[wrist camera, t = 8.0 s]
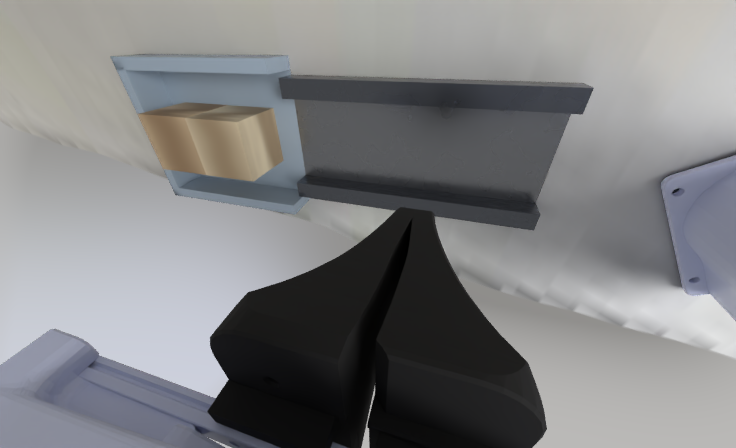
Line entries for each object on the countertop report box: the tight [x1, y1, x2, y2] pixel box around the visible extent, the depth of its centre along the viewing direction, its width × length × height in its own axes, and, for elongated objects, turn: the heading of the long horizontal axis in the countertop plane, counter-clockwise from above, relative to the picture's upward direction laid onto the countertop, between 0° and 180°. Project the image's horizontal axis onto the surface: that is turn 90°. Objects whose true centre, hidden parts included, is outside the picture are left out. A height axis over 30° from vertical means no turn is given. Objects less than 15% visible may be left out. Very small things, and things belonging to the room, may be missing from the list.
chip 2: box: [185, 105, 284, 182], centre depth 20 cm, size 4×4×4 cm
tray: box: [110, 54, 310, 214], centre depth 21 cm, size 12×11×3 cm
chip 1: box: [138, 102, 226, 175], centre depth 21 cm, size 4×4×4 cm
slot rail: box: [278, 75, 593, 230], centre depth 18 cm, size 17×8×2 cm, turn 91°
